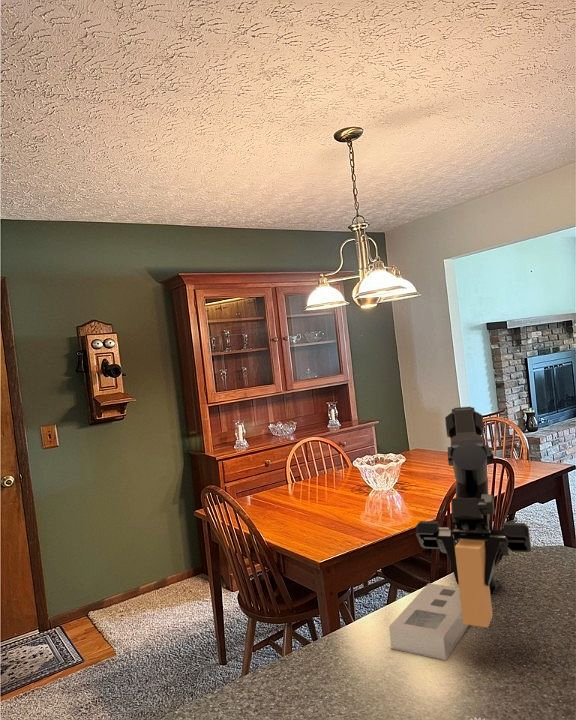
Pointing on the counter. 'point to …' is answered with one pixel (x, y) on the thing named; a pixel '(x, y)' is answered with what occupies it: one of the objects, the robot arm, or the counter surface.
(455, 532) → the robot arm
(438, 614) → the white peg board
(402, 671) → the counter surface
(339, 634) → the counter surface
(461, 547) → the orange post
